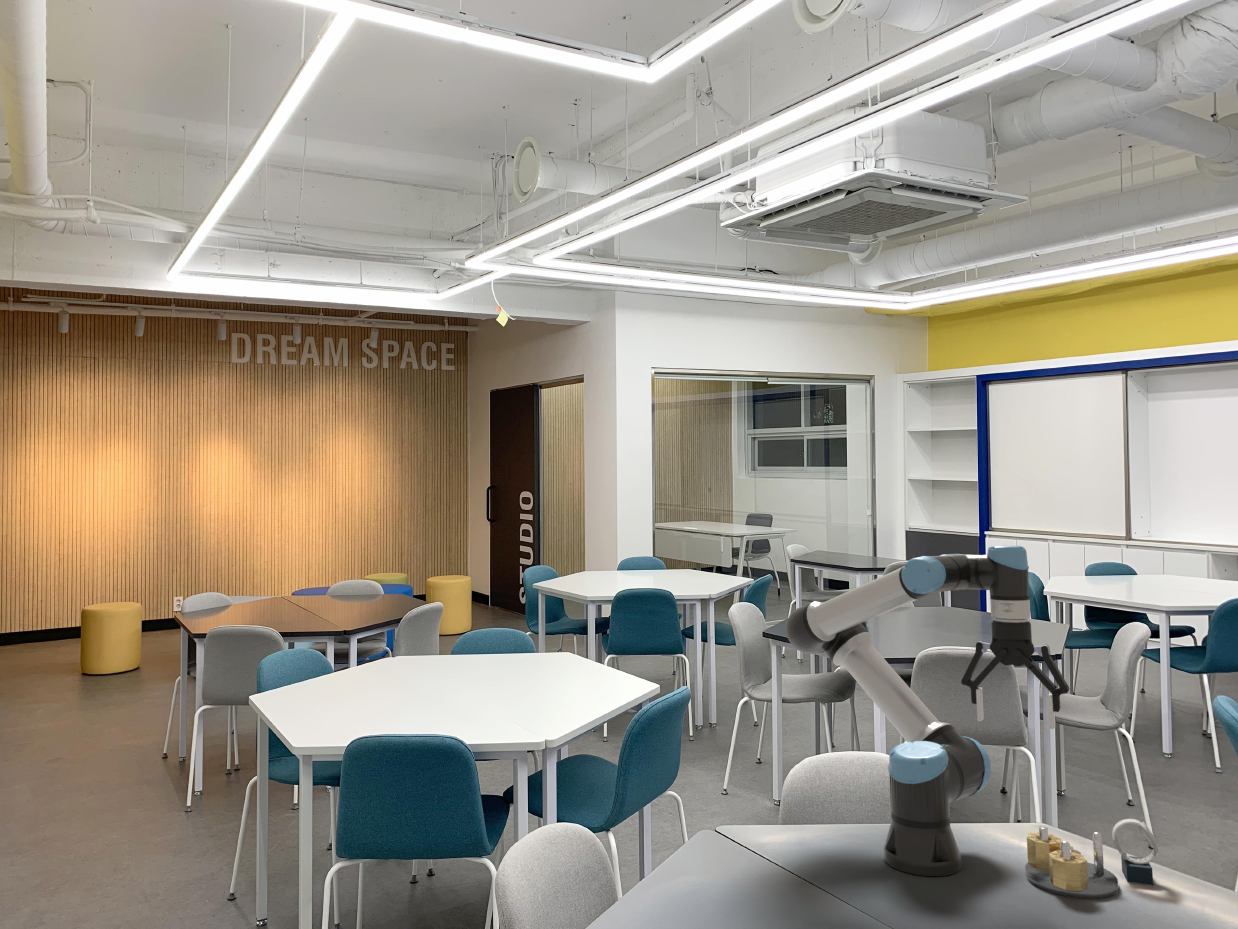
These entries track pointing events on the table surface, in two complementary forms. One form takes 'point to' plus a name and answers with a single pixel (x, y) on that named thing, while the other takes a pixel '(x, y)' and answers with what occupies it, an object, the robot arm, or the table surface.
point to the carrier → (1098, 877)
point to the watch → (1137, 866)
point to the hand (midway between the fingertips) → (1015, 724)
